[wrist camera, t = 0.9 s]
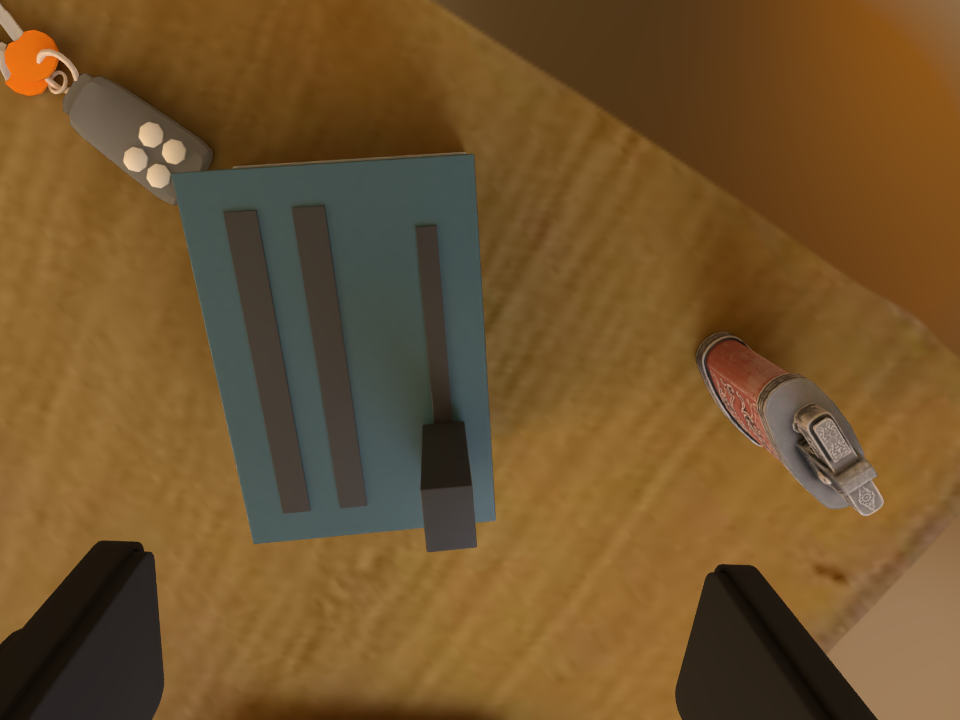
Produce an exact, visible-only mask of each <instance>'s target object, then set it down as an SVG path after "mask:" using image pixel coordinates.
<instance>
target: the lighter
mask: <svg viewBox="0 0 960 720" xmlns="http://www.w3.org/2000/svg"><path fill="white" fill-rule="evenodd" d="M696 362H697V365H698V367H699V370H700V372H701V375H702V377H703V380H704V383H705V385H706V387H707V388H708V390H709V392H710V394H711V395H712V397H713V399H714V401H715V402H716V404H717V406H718V407H719V408H720V409H721V410H722V412H723V413H724V414H725V415H726V417H727V418H728V419H729V420H730V421H731V423H732V424H733V425H735V426H736V427H737V428H738V429H739V430H740V431H741V432H742V433H743V434H744V435H745V436H747V437H748V438H749V439H750V440H751V441H752V442H753V443H754V444H756V445H758V446H762V447H764V448H765V449H766V450H768V451H769V452H770V453H771V454H772V455H773V456H774V457H776V458H777V459H778V460H779V461H780V462H781V463H782V464H784V466H785V467H786V468H787V469H788V471H789V472H790V473H791V474H792V476H793V477H794V478H795V479H796V481H798V482H799V483H800V484H801V485H802V486H803V487H804V488H805V489H806V490H807V491H808V492H810V493H811V494H812V495H813V496H814V497H815V498H816V499H817V500H818V501H820V502H821V503H822V504H823V505H824V506H826V507H828V508H830V509H841V508H845V507H848V506H852V507H853V508H854V509H855V510H856V511H858V512H859V513H860V514H861V515H864V516H868V515H870V514H872V513H874V512H876V511H877V510H879V509H880V508H881V507H882V505H883V502H884V500H883V498H882V496H881V494H880V493H879V491H878V489H877V488H876V486H875V484H874V483H873V481H872V479H873V478H875V477H876V476H877V473H876V471H875V470H874V468H873V467H872V465H871V464H870V463H869V462H868V461H867V460H866V459H865V456H864V453H863V450H862V448H861V446H860V444H859V442H858V440H857V437H856V435H855V433H854V431H853V429H852V427H851V425H850V424H849V423H848V421H847V420H846V418H845V417H844V416H843V414H842V413H841V412H840V410H839V409H838V407H837V406H836V405H835V403H834V402H833V401H832V400H831V399H830V398H829V397H828V396H827V395H826V394H825V393H824V392H823V391H822V390H821V389H820V388H819V387H818V386H817V385H816V384H815V383H813V382H812V381H810V380H808V379H807V378H805V377H803V376H802V375H800V374H797V373H788V372H787V371H785V370H784V369H782V368H780V367H779V366H777V365H775V364H774V363H772V362H770V361H769V360H767V359H765V358H764V357H762V356H760V355H759V354H757V353H756V352H754V351H753V350H752V349H751V348H750V347H749V346H748V345H747V344H746V343H745V342H744V341H742V340H741V339H739V338H738V337H736V336H734V335H733V334H731V333H729V332H719V333H715V334H713V335H711V336H709V337H707V338H706V339H705V340H704V341H703V342H702V343H701V345H700V346H699V348H698V349H697V353H696Z"/></svg>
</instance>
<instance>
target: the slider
mask: <svg viewBox="0 0 960 720" xmlns="http://www.w3.org/2000/svg"><path fill="white" fill-rule="evenodd" d="M420 493H421V503H422V512H423V521H424V531H425V540H426V549H427V552H435V551H445V550H455V549H465V548H475V547H477V541H476V528H475V514H474V500H473V486H472V478H471V470H470V462H469V454H468V446H467V438H466V429H465V422H464V421H460V422H449V423H437V424H426V425H423V426H422V451H421V481H420Z"/></svg>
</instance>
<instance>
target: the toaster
mask: <svg viewBox="0 0 960 720" xmlns="http://www.w3.org/2000/svg"><path fill="white" fill-rule="evenodd" d="M171 176H172V180H173V185H174V189H175V194H176V198H177V203H178V207H179V212H180V216H181V221H182V225H183V230H184V234H185V238H186V243H187V247H188V252H189V256H190V261H191V265H192V270H193V274H194V279H195V283H196V288H197V292H198V297H199V301H200V306H201V310H202V315H203V319H204V324H205V328H206V333H207V337H208V342H209V346H210V351H211V355H212V360H213V364H214V369H215V373H216V378H217V382H218V387H219V391H220V396H221V400H222V405H223V409H224V414H225V418H226V423H227V427H228V432H229V436H230V440H231V445H232V449H233V454H234V458H235V463H236V467H237V472H238V476H239V481H240V485H241V490H242V494H243V499H244V503H245V508H246V512H247V517H248V521H249V526H250V530H251V535H252V539H253V544H260V543H270V542H281V541H291V540H301V539H312V538H322V537H332V536H343V535H353V534H363V533H374V532H384V531H394V530H405V529H415V528H424V521H423V512H422V503H421V493H420V481H421V451H422V426H423V425H426V424H437V423H449V422H460V421H464V422H465V429H466V438H467V446H468V454H469V462H470V470H471V478H472V486H473V500H474V514H475V523H477V522H487V521H495V520H496V516H495V499H494V482H493V465H492V448H491V432H490V415H489V398H488V381H487V364H486V347H485V331H484V314H483V297H482V280H481V263H480V246H479V229H478V213H477V196H476V179H475V162H474V154H466V152H452V153H436V154H420V155H404V156H388V157H373V158H357V159H341V160H325V161H309V162H293V163H277V164H261V165H246V166H233V169H219V170H205V171H191V172H176V173H171Z"/></svg>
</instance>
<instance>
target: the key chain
mask: <svg viewBox="0 0 960 720" xmlns="http://www.w3.org/2000/svg"><path fill="white" fill-rule="evenodd" d="M0 24H1V25H2V27H3V28H4V29H5V30H6V32H7V33H8V34H9V36H10V37H11V38H12V40H13V41H14V42H11V43H9V44H8V45H7V44H5V43H3V42H1V43H0V70H1V72H2V74H3V76H4V78H5V80H6V82H5V84H7V85H8V86H9V87H10V88H11V89H13V90H14V91H15V92H17V93H20V94H24V95H27V96H34V95H38V94H42V93H43V92H44V91H45V90H46V88H47V87H48V88H49V89H50V91H51V92H52V93H54V94H60V93H62V92H63V93H66V95H65V97H64V99H63V111H64V112H65V113H67V114H68V115H69V119H70V125H71V126H72V127H73V128H74V129H75V130H76V131H77V132H78V133H79V134H80V136H81V137H82V138H84V139H85V140H86V141H87V142H89V143H90V144H91V145H92V146H94V147H95V148H96V149H97V150H99V151H100V152H101V153H102V154H104V155H105V156H106V157H107V158H108V159H110V160H111V161H112V162H113V163H115V164H116V165H117V166H118V167H120V168H121V169H122V170H123V171H125V172H126V173H127V174H128V175H130V176H131V177H132V178H134V179H135V180H136V181H137V182H139V183H140V184H141V185H142V186H144V187H145V188H146V189H147V190H149V191H150V192H151V193H153V194H154V195H155V196H156V197H158V198H159V199H161V200H163V201H165V202H167V203H169V204H171V205H177V204H178V203H177V198H176V194H175V189H174V185H173V180H172V176H171V173H176V172H191V171H205V170H207V169H208V168H209V166H210V164H211V162H212V156H213V151H212V150H211V149H210V148H209V147H208V146H207V144H206V143H205V142H204V141H203V140H202V139H200V138H199V137H197V136H196V135H194V134H193V133H192V132H190V131H189V130H187V129H186V128H184V127H183V126H181V125H180V124H178V123H177V122H175V121H174V120H172V119H171V118H169V117H168V116H166V115H165V114H163V113H162V112H160V111H159V110H157V109H156V108H154V107H153V106H151V105H150V104H148V103H147V102H145V101H144V100H142V99H141V98H139V97H138V96H136V95H135V94H133V93H132V92H130V91H129V90H127V89H126V88H124V87H123V86H121V85H119V84H117V83H115V82H113V81H111V80H109V79H107V78H104V77H100V76H98V77H95V78H94V77H93V76H91V75H90V74H86V73H84V74H82V75H80V76H79V73H78V71H77V69H76V67H75V66H74V65H73V63H72V62H71V61H70V60H69V59H68V58H67V57H65V56H64V55H63V54H62V53H59V50H58V48H57V46H56V43H55V41H54V40H53V39H52V38H51V37H49V36H48V35H47V34H45V33H42V32H39V31H37V30H30V31H25V32H23V30H22V29H21V28H20V26H19V25H18V24H17V22H16V21H15V20H14V18H13V17H12V16H11V14H10V13H9V12H8V11H7V10H5V8H4V7H3V6H2V5H1V3H0ZM59 60H61V61H62V62H63V63H65V64H66V66H67V67H68V68H69V70H70V71H71V73H72V76H73V78H74V82H73V83H72V85H71V87H67V85H68V78H67V76H66V74H65V73H64V72H62V71H55V70H56V67H57V64H58V62H59ZM54 71H55V72H54ZM58 74H61V75H63V77H64V83H63V85H62V86H60V85H59V84H58V83H56V82H55V81H54V80H53V79H54V77H55V76H56V75H58ZM52 87H53V88H54V89H56V90H53V88H52Z"/></svg>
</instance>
